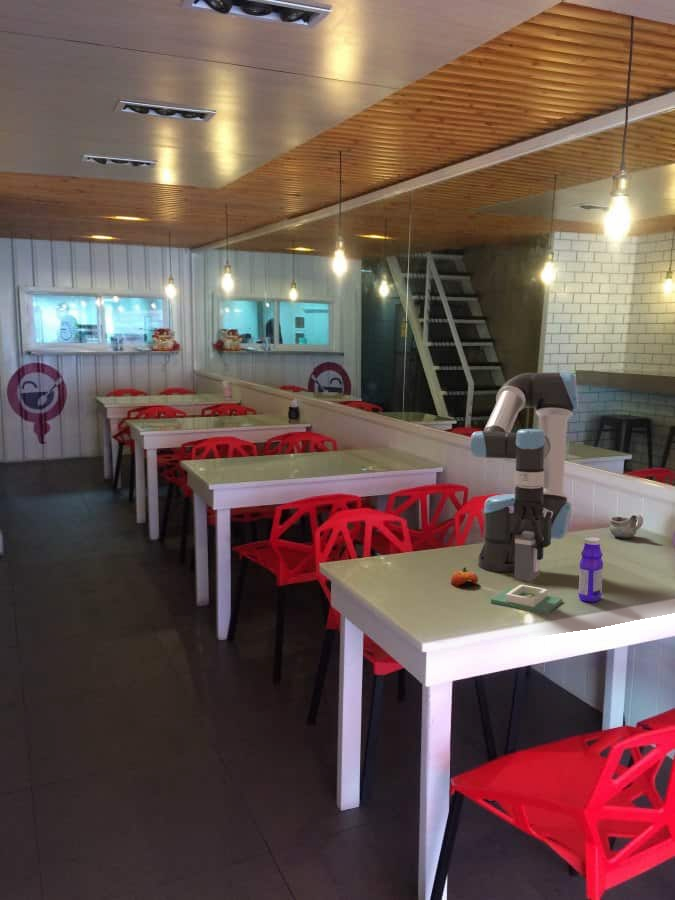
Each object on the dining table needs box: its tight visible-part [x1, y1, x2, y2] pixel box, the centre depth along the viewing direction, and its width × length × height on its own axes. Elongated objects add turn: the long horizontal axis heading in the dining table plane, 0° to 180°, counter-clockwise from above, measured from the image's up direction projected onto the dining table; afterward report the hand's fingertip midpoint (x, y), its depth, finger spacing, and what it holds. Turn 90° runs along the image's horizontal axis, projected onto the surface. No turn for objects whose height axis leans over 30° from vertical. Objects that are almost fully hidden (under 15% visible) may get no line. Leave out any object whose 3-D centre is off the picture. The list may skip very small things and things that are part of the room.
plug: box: [513, 531, 541, 582], centre depth 201 cm, size 5×8×12 cm, turn 144°
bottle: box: [578, 536, 604, 603], centre depth 203 cm, size 7×6×17 cm
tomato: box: [450, 566, 479, 588], centre depth 218 cm, size 8×7×7 cm
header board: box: [490, 584, 563, 615], centre depth 202 cm, size 16×12×3 cm
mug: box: [609, 513, 644, 539], centre depth 270 cm, size 10×12×10 cm
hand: (527, 568), depth 201 cm, fingers closed on plug, 4 cm apart
